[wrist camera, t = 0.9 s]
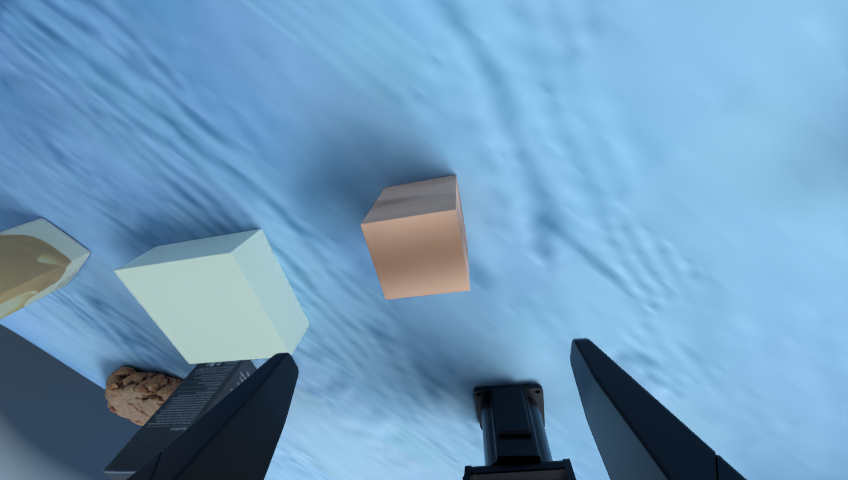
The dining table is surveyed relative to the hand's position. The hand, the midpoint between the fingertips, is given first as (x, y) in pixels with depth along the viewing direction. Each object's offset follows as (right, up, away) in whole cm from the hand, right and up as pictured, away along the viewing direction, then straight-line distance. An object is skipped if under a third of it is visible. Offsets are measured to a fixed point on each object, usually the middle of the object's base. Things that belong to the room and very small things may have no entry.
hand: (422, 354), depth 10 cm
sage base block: (-16, 0, +17) cm, 24 cm away
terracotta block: (0, +5, +12) cm, 13 cm away
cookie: (-31, -14, +27) cm, 43 cm away
